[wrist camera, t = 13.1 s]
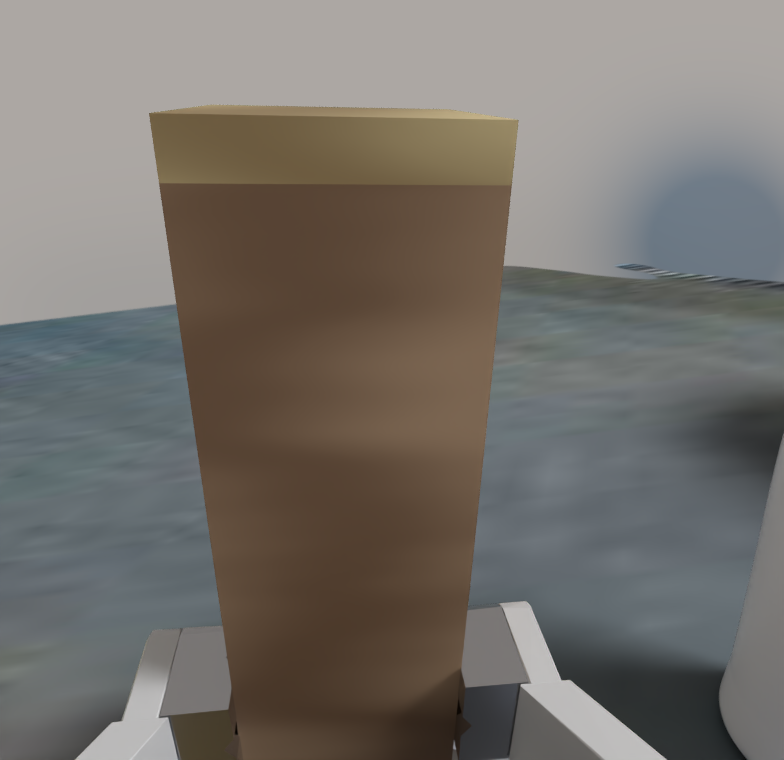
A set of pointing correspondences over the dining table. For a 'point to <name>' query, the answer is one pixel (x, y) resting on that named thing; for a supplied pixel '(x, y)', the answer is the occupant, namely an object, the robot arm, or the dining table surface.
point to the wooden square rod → (339, 404)
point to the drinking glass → (760, 642)
